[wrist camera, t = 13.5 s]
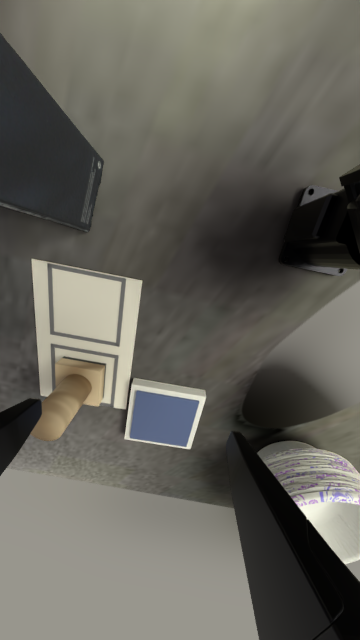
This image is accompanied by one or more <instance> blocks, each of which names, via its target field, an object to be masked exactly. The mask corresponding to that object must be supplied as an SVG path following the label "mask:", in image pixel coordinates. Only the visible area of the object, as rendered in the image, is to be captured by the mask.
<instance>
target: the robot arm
mask: <svg viewBox="0 0 360 640" xmlns="http://www.w3.org/2000/svg"><path fill="white" fill-rule="evenodd" d="M339 179H340V182H341V186H344V188H345V189H342V190H340V191H336V190H332V189H328V188H323V187H319V186H315V185H311V186H308V187H307V188H305V189H304V191H303V193H302V195H301V198H300V201H299V204H298V207H297V208H296V209H295V210H294V212H293V215H292V217H291V220H290V223H289V226H288V229H287V232H286V235H285V237H284V240H285V243H284V246H283V249H282V252H281V254H280V257H279V262H280V263H281V264H283V265H288V266H293V267H297V268H302V269H307V270H312V271H316V272H321V273H326V274H330V275H335V276H342V275H343V274H345V272H346V270H347V269H359V270H360V165H358V166H356V167H355V168H353V169H352V170H350V171H348V172H347V173H345V174H344V175H342V176H341V177H339ZM309 190H310V191H311V195H308V191H309ZM284 257H287V260H286V261H284ZM339 269H340V272H339V273H338V270H339ZM41 415H42V402H41V400H40V399H37V398H29V399H27V400H25V401H23V402H21V403H19V404H17V405H15V406H13V407H10V408H8V409H6V410H4V411H2V412H0V476H1V474H2V473H3V472H4V470H5V469H6V468H7V466H8V465H9V464H10V463H11V461H12V460H13V459H14V457H15V456H16V455H17V453H18V452H19V450H20V449H21V447H22V446H23V444H24V443H25V441H26V439H27V438H28V436H29V435H30V433H31V432H32V430H33V429H34V427H35V426H36V424H37V422H38V421H39V419H40V418H41ZM226 450H227V460H228V470H229V480H230V488H231V494H232V499H233V504H234V509H235V515H236V520H237V525H238V530H239V536H240V541H241V546H242V552H243V557H244V562H245V567H246V573H247V578H248V583H249V588H250V594H251V599H252V604H253V609H254V615H255V620H256V625H257V631H258V636H259V640H360V582H359V581H358V579H357V578H356V577H355V576H354V575H353V574H352V573H351V571H350V570H349V569H348V568H347V566H346V565H345V564H344V563H343V562H342V561H341V559H340V558H339V557H338V556H337V555H336V553H335V552H334V551H333V550H332V549H331V547H330V546H329V545H328V544H327V542H326V541H325V540H324V539H323V537H322V536H321V535H320V534H319V532H318V531H317V530H316V528H315V527H314V526H313V525H312V523H311V522H310V521H309V520H308V519H307V517H306V516H305V514H304V513H303V512H302V511H301V509H300V508H299V507H298V505H297V504H296V503H295V502H294V500H293V499H292V498H291V496H290V495H289V494H288V493H287V491H286V490H285V489H284V487H283V486H282V485H281V484H280V482H279V481H278V480H277V478H276V477H275V476H274V475H273V473H272V472H271V471H270V469H269V468H268V467H267V466H266V464H265V463H264V462H263V460H262V459H261V458H260V457H259V455H258V454H257V453H256V451H255V450H254V449H253V448H252V446H251V445H250V444H249V442H248V441H247V440H246V439H245V437H244V436H243V435H242V434H241V433H240V432H237V431H231V433H230V435H229V438H228V441H227V444H226Z"/></svg>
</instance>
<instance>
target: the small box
mask: <svg viewBox="0 0 360 640" xmlns="http://www.w3.org/2000/svg"><path fill="white" fill-rule="evenodd" d="M103 163H104V161H103V159H102V158H101V157H100V156H99V155H98V153H97V152H96V151H95V150H94V148H93V147H92V146H91V145H90V144H89V142H88V141H87V140H86V139H85V138H84V136H83V135H82V134H81V133H80V131H79V130H78V129H77V128H76V126H75V125H74V124H73V123H72V121H71V120H70V119H69V118H68V116H67V115H66V114H65V113H64V112H63V110H62V109H61V108H60V107H59V105H58V104H57V103H56V102H55V100H54V99H53V98H52V97H51V95H50V94H49V93H48V92H47V90H46V89H45V88H44V87H43V85H42V84H41V83H40V82H39V80H38V79H37V78H36V77H35V75H34V74H33V73H32V72H31V70H30V69H29V68H28V67H27V65H26V64H25V63H24V61H23V60H22V59H21V58H20V57H19V55H18V54H17V53H16V52H15V50H14V49H13V48H12V47H11V46H10V44H9V43H8V42H7V41H6V40H5V38H4V37H3V36H2V34H1V33H0V206H1V207H5V208H8V209H11V210H15V211H18V212H22V213H25V214H29V215H32V216H36V217H39V218H42V219H47V220H50V221H54V222H57V223H61V224H63V225H67V226H70V227H73V228H75V229H78V230H82V231H85V232H88V231H89V230H90V227H91V219H92V216H93V210H94V205H95V201H96V196H97V192H98V188H99V185H100V183H101V176H102V168H103Z"/></svg>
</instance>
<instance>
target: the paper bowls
mask: <svg viewBox="0 0 360 640" xmlns="http://www.w3.org/2000/svg"><path fill="white" fill-rule="evenodd" d="M257 454H258V455H259V457H260V458H261V459H262V460H263V462H264V463H265V464H266V466H267V467H268V468H269V469H270V471H271V472H272V473H273V475H274V476H275V477H276V478H277V480H278V481H279V482H280V484H281V485H282V486H283V487H284V489H285V490H286V491H287V493H288V494H289V495H290V496H291V498H292V499H293V500H294V502H295V503H296V504H297V505H298V507H299V508H300V509H301V511H302V512H303V513H304V514H305V516H306V517H307V519H308V520H309V521H310V522H311V523H312V525H313V526H314V527H315V528H316V530H317V531H318V532H319V534H320V535H321V536H322V537H323V539H324V540H325V541H326V542H327V544H328V545H329V546H330V547H331V549H332V550H333V551H334V552H335V553H336V555H337V556H338V557H339V558H340V559H341V561H342V562H343V563H344V564H348V563H351V562H354V561H357V560H359V559H360V474H359V473H358V471H357V470H356V469H355V468H354V467H353V466H352V465H351V463H350V462H349V461H347V460H346V459H344V458H343V457H341V456H340V455H338V454H335V453H332V452H329V451H326V450H320V449H316V448H315V447H313V446H311V445H309V444H306V443H303V442H299V441H281V442H277V443H273V444H270V445H268V446H266V447H264V448H262V449H261V450H260V451H259V452H258V453H257Z"/></svg>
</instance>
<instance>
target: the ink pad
mask: <svg viewBox="0 0 360 640" xmlns="http://www.w3.org/2000/svg"><path fill="white" fill-rule="evenodd" d="M205 399H206V393H205V390H201V389H196V388H190V387H184V386H178V385H173V384H167V383H161V382H155V381H149V380H144V379H138V378H134V380H133V382H132V385H131V393H130V401H129V408H128V416H127V423H126V431H125V438H124V439H127V440H134V441H140V442H147V443H153V444H159V445H166V446H172V447H179V448H185V449H191V445H192V442H193V439H194V436H195V432H196V429H197V426H198V422H199V419H200V416H201V412H202V409H203V406H204V403H205Z"/></svg>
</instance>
